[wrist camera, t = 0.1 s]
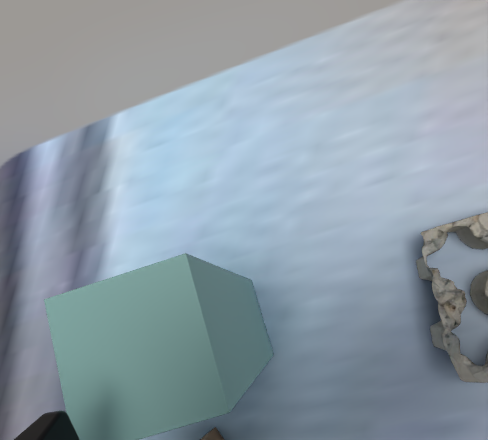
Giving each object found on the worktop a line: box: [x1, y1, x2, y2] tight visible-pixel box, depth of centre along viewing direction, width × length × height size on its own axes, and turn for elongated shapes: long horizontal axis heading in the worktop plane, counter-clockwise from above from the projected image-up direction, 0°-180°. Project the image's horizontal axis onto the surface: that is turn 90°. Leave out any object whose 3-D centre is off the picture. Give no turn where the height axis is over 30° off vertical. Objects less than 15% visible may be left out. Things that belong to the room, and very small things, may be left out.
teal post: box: [44, 253, 274, 440], centre depth 18 cm, size 4×4×13 cm
